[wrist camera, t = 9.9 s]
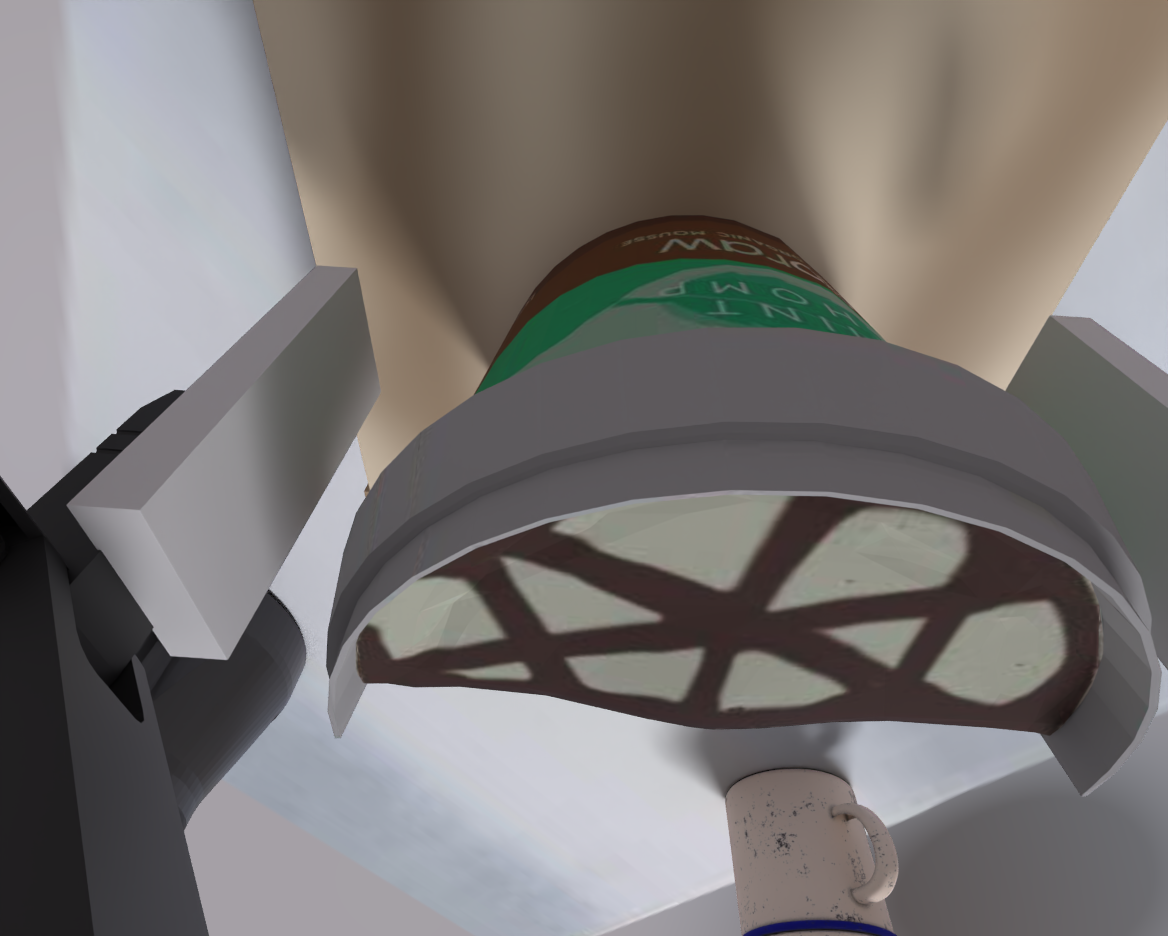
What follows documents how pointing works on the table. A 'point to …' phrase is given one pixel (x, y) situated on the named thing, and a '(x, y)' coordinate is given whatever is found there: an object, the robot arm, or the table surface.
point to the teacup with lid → (808, 857)
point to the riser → (708, 157)
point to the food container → (745, 521)
